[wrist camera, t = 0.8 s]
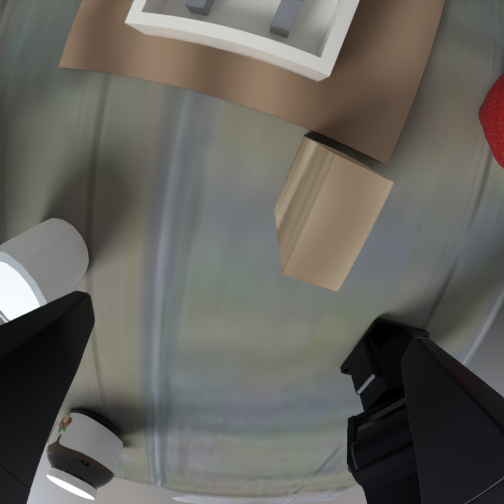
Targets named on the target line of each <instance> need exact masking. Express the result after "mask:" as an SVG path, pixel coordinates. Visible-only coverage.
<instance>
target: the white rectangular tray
mask: <svg viewBox="0 0 504 504" xmlns="http://www.w3.org/2000/svg"><path fill="white" fill-rule="evenodd" d="M358 3H359V0H134V2H133V4H132V6H131V9H130V11H129V13H128V16H127V18H126V20H125V23H126V24H128V25H130V26H131V27H133V28H135V29H137V30H139V31H140V32H142V33H144V34H148V35H154V36H161V37H167V38H172V39H178V40H183V41H188V42H193V43H197V44H202V45H206V46H210V47H214V48H218V49H222V50H226V51H230V52H233V53H237V54H240V55H244V56H247V57H250V58H254V59H257V60H260V61H263V62H266V63H269V64H272V65H275V66H278V67H280V68H283V69H286V70H289V71H291V72H294V73H297V74H299V75H302V76H304V77H307V78H309V79H312V80H314V81H317V82H319V81H321V80H323V79H325V78H327V77H329V76H330V74H331V72H332V69H333V67H334V64H335V62H336V59H337V56H338V54H339V51H340V49H341V46H342V44H343V41H344V39H345V36H346V34H347V31H348V29H349V26H350V23H351V21H352V18H353V16H354V13H355V11H356V8H357V6H358Z"/></svg>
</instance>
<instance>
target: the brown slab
mask: <svg viewBox="0 0 504 504" xmlns="http://www.w3.org/2000/svg"><path fill="white" fill-rule="evenodd" d="M133 2H134V0H82V3H81V5H80V7H79V10H78V12H77V15H76V17H75V20H74V22H73V25H72V28H71V30H70V33H69V36H68V39H67V42H66V45H65V48H64V51H63V54H62V57H61V61H60V64H59V67H64V68H74V69H83V70H91V71H98V72H105V73H112V74H118V75H124V76H130V77H135V78H140V79H146V80H150V81H155V82H160V83H164V84H169V85H173V86H177V87H181V88H185V89H189V90H193V91H197V92H201V93H204V94H208V95H211V96H215V97H218V98H222V99H225V100H228V101H232V102H235V103H238V104H241V105H244V106H247V107H250V108H253V109H256V110H259V111H262V112H265V113H268V114H271V115H273V116H276V117H279V118H282V119H284V120H287V121H290V122H292V123H295V124H297V125H300V126H302V127H305V128H307V129H310V130H312V131H315V132H317V133H319V134H322V135H324V136H326V137H329V138H331V139H333V140H336V141H338V142H340V143H342V144H344V145H347V146H349V147H351V148H353V149H355V150H357V151H359V152H362V153H364V154H366V155H368V156H370V157H372V158H374V159H376V160H378V161H380V162H382V163H384V164H386V165H388V163H389V160H390V158H391V156H392V153H393V151H394V149H395V146H396V144H397V142H398V139H399V137H400V134H401V132H402V129H403V127H404V124H405V122H406V119H407V117H408V114H409V112H410V109H411V106H412V104H413V101H414V98H415V96H416V93H417V90H418V87H419V85H420V82H421V79H422V76H423V73H424V70H425V67H426V64H427V61H428V58H429V55H430V52H431V49H432V46H433V43H434V39H435V36H436V33H437V29H438V26H439V22H440V19H441V15H442V11H443V7H444V4H445V0H359V3H358V6H357V8H356V11H355V13H354V16H353V18H352V21H351V23H350V26H349V29H348V31H347V34H346V36H345V39H344V41H343V44H342V46H341V49H340V51H339V54H338V56H337V59H336V62H335V64H334V67H333V69H332V72H331V74H330V76H329V77H327V78H325V79H323V80H321V81H319V82H317V81H314V80H312V79H309V78H307V77H304V76H302V75H299V74H297V73H294V72H291V71H289V70H286V69H283V68H280V67H278V66H275V65H272V64H269V63H266V62H263V61H260V60H257V59H254V58H250V57H247V56H244V55H240V54H237V53H233V52H230V51H226V50H222V49H218V48H214V47H210V46H206V45H202V44H197V43H193V42H188V41H183V40H178V39H172V38H167V37H161V36H154V35H148V34H144V33H142V32H140V31H139V30H137V29H135V28H133V27H131V26H130V25H128V24H126V23H125V20H126V18H127V16H128V13H129V11H130V9H131V6H132V4H133Z"/></svg>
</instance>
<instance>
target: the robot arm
mask: <svg viewBox="0 0 504 504" xmlns="http://www.w3.org/2000/svg"><path fill="white" fill-rule="evenodd" d="M94 322H95V317H94V311H93V306H92V300H91V296H90V295H89V294H88V293H86V292H81V291H74V292H71V293H69V294H67V295H65V296H63V297H60V298H58V299H56V300H54V301H52V302H49V303H47V304H45V305H43V306H41V307H38V308H36V309H34V310H32V311H30V312H28V313H26V314H23V315H21V316H19V317H17V318H15V319H13V320H11V321H9V322H7V323H4V324H2V325H0V504H27V500H28V496H29V493H30V488H31V486H32V483H33V480H34V477H35V474H36V471H37V468H38V465H39V462H40V459H41V456H42V453H43V451H44V448H45V445H46V443H47V440H48V437H49V435H50V432H51V430H52V427H53V425H54V422H55V420H56V417H57V415H58V413H59V410H60V408H61V406H62V403H63V401H64V399H65V396H66V394H67V392H68V390H69V387H70V385H71V383H72V381H73V379H74V377H75V374H76V372H77V370H78V367H79V364H80V362H81V359H82V356H83V353H84V350H85V348H86V345H87V342H88V339H89V337H90V334H91V332H92V329H93V326H94ZM378 324H380V325H378ZM428 338H429V334H428V332H427V331H425V330H421V329H418V328H414V327H410V326H407V325H403V324H399V323H396V322H392V321H389V320H385V319H381V318H379V319H376V320H375V321H374V322H373V323H372V325H371V326H370V328H369V329H368V331H367V332H366V333H365V335H364V336H363V338H362V339H361V340H360V342H359V343H358V344H357V346H356V347H355V348H354V350H353V351H352V352H351V354H350V355H349V356H348V358H347V359H346V360H345V362H344V363H343V364H342V366H341V367H340V369H341V373H343V374H348V375H351V376H352V380H353V384H354V387H355V391H356V394H357V395H360V398H361V402H362V406H363V409H364V412H362V413H360V414H358V415H356V416H352V417H350V418H348V427H347V464H348V470H349V472H350V473H352V475H353V477H354V479H355V480H356V482H357V483H358V484H359V485H360V486H362V487H363V490H364V492H365V496H366V500H367V504H504V397H503V396H501V395H500V394H499V393H498V392H496V391H495V390H494V389H493V388H491V387H490V386H489V385H488V384H486V383H485V382H484V381H483V380H481V379H480V378H479V377H478V376H476V375H475V374H474V373H473V372H471V371H470V370H469V369H467V368H466V367H465V366H464V365H462V364H461V363H460V362H459V361H457V360H456V359H455V358H453V357H452V356H451V355H449V354H448V353H447V352H446V351H444V350H443V349H442V348H440V347H439V346H438V345H436V344H435V343H434V342H432V341H431V340H430V339H428ZM346 368H347V369H346Z"/></svg>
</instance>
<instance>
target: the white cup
mask: <svg viewBox="0 0 504 504" xmlns="http://www.w3.org/2000/svg"><path fill="white" fill-rule="evenodd" d="M88 264H89V257H88V249H87V247H86V244H85V242H84V240H83V237H82V236H81V235H80V234H79V232H78V231H77V230H76V229H75V227H74V226H72V225H71V224H69V223H68V222H66V221H65V220H63V219H57V218H51V219H49V220H46V221H44V222H42V223H40V224H38V225H36V226H34V227H32V228H30V229H28V230H26V231H25V232H23V233H21V234H19V235H17V236H15V237H14V238H12V239H10V240H8V241H6V242H5V243H3V244H1V245H0V317H1V318H2V319H3V320H4V321H5V323H7V322H9V321H11V320H13V319H15V318H17V317H19V316H21V315H23V314H26V313H28V312H30V311H32V310H34V309H36V308H38V307H41V306H43V305H45V304H47V303H49V302H52V301H54V300H56V299H58V298H60V297H63V296H65V295H67V294H69V293H71V292H73V291H74V290H75V288H76V287H77V285H78V284H79V282H80V281H81V279H82V278H83V276H84V275H85V273H86V271H87V267H88Z"/></svg>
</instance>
